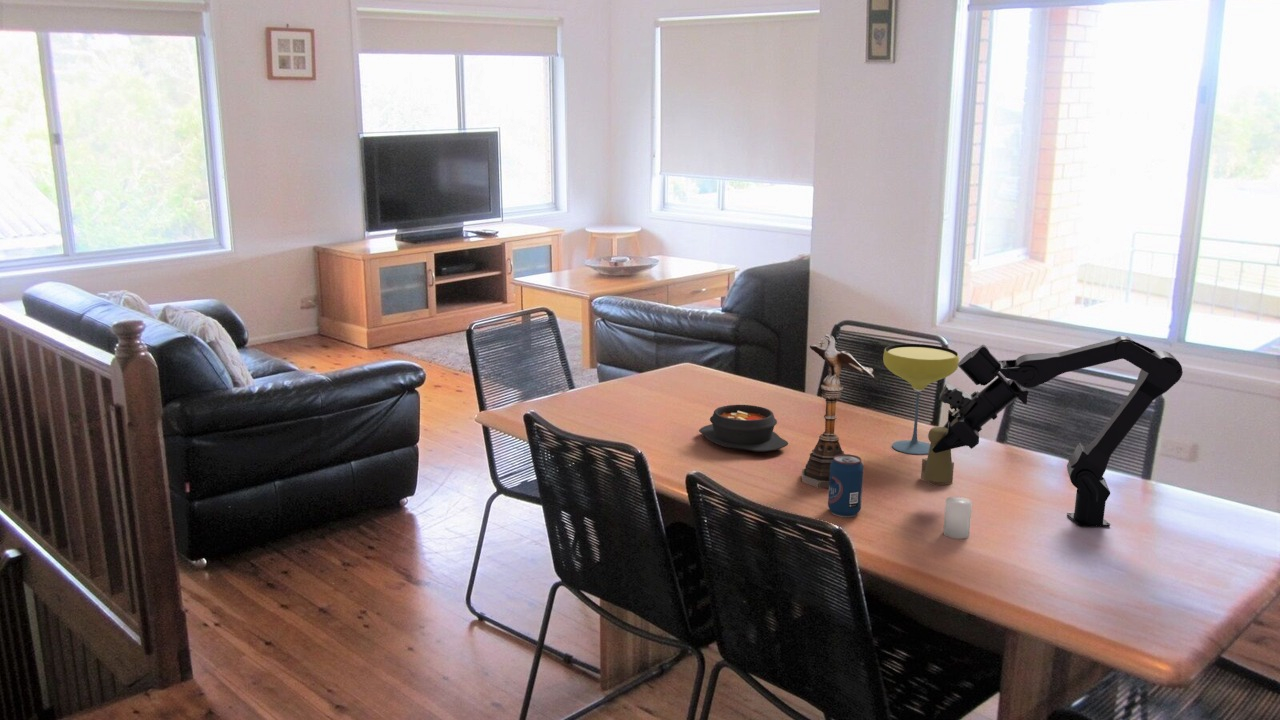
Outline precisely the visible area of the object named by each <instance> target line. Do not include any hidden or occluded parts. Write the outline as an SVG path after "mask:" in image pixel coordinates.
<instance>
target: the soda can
mask: <svg viewBox="0 0 1280 720" xmlns="http://www.w3.org/2000/svg"><path fill="white" fill-rule="evenodd" d="M864 469H865V467H864V466H863V463H862V458H861V457H859V456H857V455H855V454H854V455H853V454H846V453H844V454H840V455H836V456H834V458H833V461H832V463H831V464H830V476H829V488H828V496H827V507H828V509H829V511H830V513H831V514H833V515H834V516H836V517H840V518H853V517H856V516H857V515H858V514H859V512H860V511H861V509H862V497H863V485H864V484H863V483H864Z"/></svg>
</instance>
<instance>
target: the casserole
mask: <svg viewBox="0 0 1280 720" xmlns="http://www.w3.org/2000/svg"><path fill="white" fill-rule="evenodd" d="M709 422H710V423H711V424H707V425H705V426H701V427H700V428H699V430H698V432H699V433H700V434H702V435H704V437H706V438H707V440H709V441H710V442H711V443H713V444H716V445H718V446H721V447H725V448H727V449H730V450H731V449H732V450H736V449H737V450H738V451H751V452H758V453H759V452H760V453H763V452H764V453H765V452H771V451H772V452H773V451H777V450H780V449H783V448H785V447H787V446H788V445H789V442H788V441H787V440H785V439H784V438H782V437H780V436H779V435H778V434H777V433H776V432H775V431H774V428H775V426H776V425H777V424H778V421H777V419H776V418H775V415H774V412H773V410H770V409H768V408H766V407H762V406H756V405H750V404H731V405H730V404H729V405H722V406H720V407H717V408H716V409H714V411H713V414H712V416H710V418H709Z"/></svg>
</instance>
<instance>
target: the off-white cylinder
mask: <svg viewBox="0 0 1280 720" xmlns="http://www.w3.org/2000/svg"><path fill="white" fill-rule="evenodd" d="M972 506H973V502H972V500H971V499H969V498H966V497H961V496H951V497H950V496H949V497H947V498H946V499H945V507H944V510H945V511H944V518H943V532H942V533H943V535H944V536H946V537H948V538H952V539H957V540H963V539H964V540H965V539H967V538H969V537H970V530H971V518H972Z"/></svg>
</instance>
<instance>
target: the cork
mask: <svg viewBox="0 0 1280 720" xmlns="http://www.w3.org/2000/svg"><path fill="white" fill-rule="evenodd" d="M947 431H948V428H946V427H944V426H935V427H931V428H930V430H929V432H928V434H927V436H928V437H927V439H928V440H929V442H930V443H929V444H930V448H929V453H928V454H927V457H926V458H927V463H926V468H925V473H924V477H925V478H926V479H928V480H930V481H935V482H948V481H951V480H954V470H953V471H952V462H953V461H952V451H951V450H952V449H950V450H946V451H942V452H938V453H934V452H933V450H932V448H933V447H934V446H935V445H936V444H937V443H938V441H939V440H940V439H941V438H942V437H943V436H944V435H945V434H946V432H947Z"/></svg>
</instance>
